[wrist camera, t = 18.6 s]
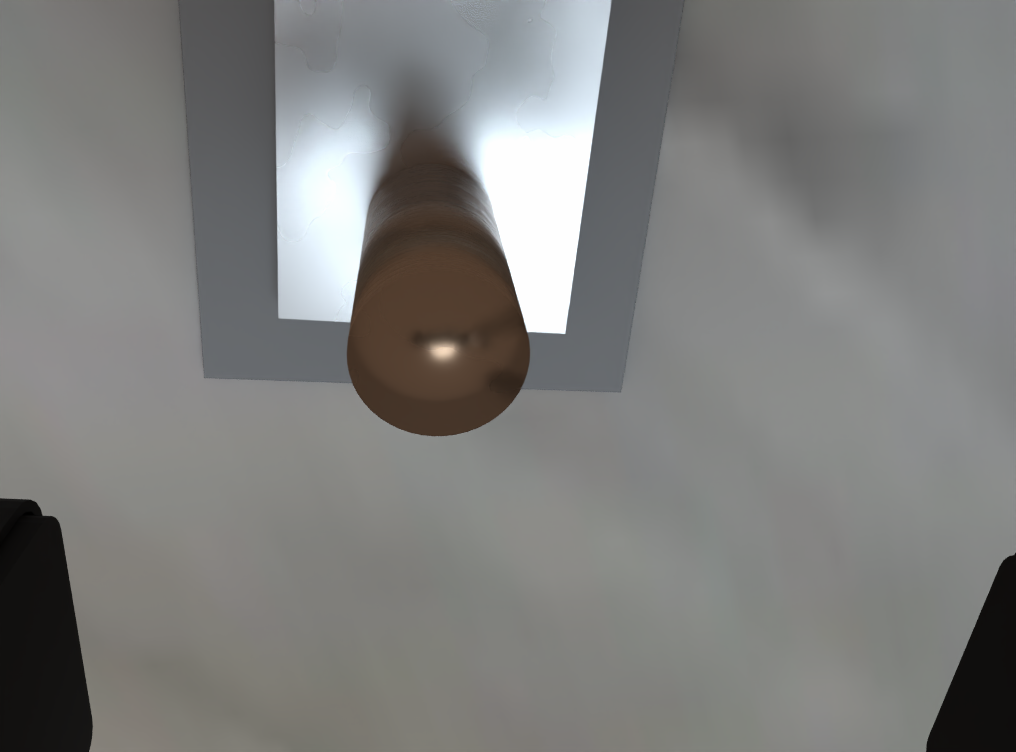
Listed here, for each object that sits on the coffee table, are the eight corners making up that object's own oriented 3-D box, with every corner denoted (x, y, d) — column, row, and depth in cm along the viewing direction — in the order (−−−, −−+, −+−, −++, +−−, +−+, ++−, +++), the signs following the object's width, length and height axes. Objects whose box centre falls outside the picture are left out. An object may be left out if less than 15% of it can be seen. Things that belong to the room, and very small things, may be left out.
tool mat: (713, -212, 19) (718, -214, 18) (618, 385, 25) (620, 392, 25) (164, -278, 17) (159, -283, 17) (207, 371, 24) (204, 377, 23)
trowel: (618, -119, 19) (741, -140, 12) (559, 318, 23) (623, 491, 16) (278, -159, 18) (193, -211, 11) (283, 302, 23) (225, 478, 15)
